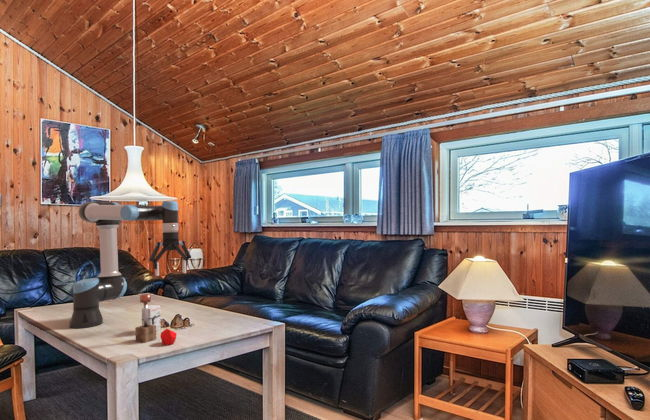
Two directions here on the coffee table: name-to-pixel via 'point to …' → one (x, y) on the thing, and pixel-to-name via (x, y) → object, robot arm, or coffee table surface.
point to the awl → (145, 306)
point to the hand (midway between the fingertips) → (171, 274)
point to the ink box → (153, 316)
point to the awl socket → (145, 333)
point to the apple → (168, 337)
